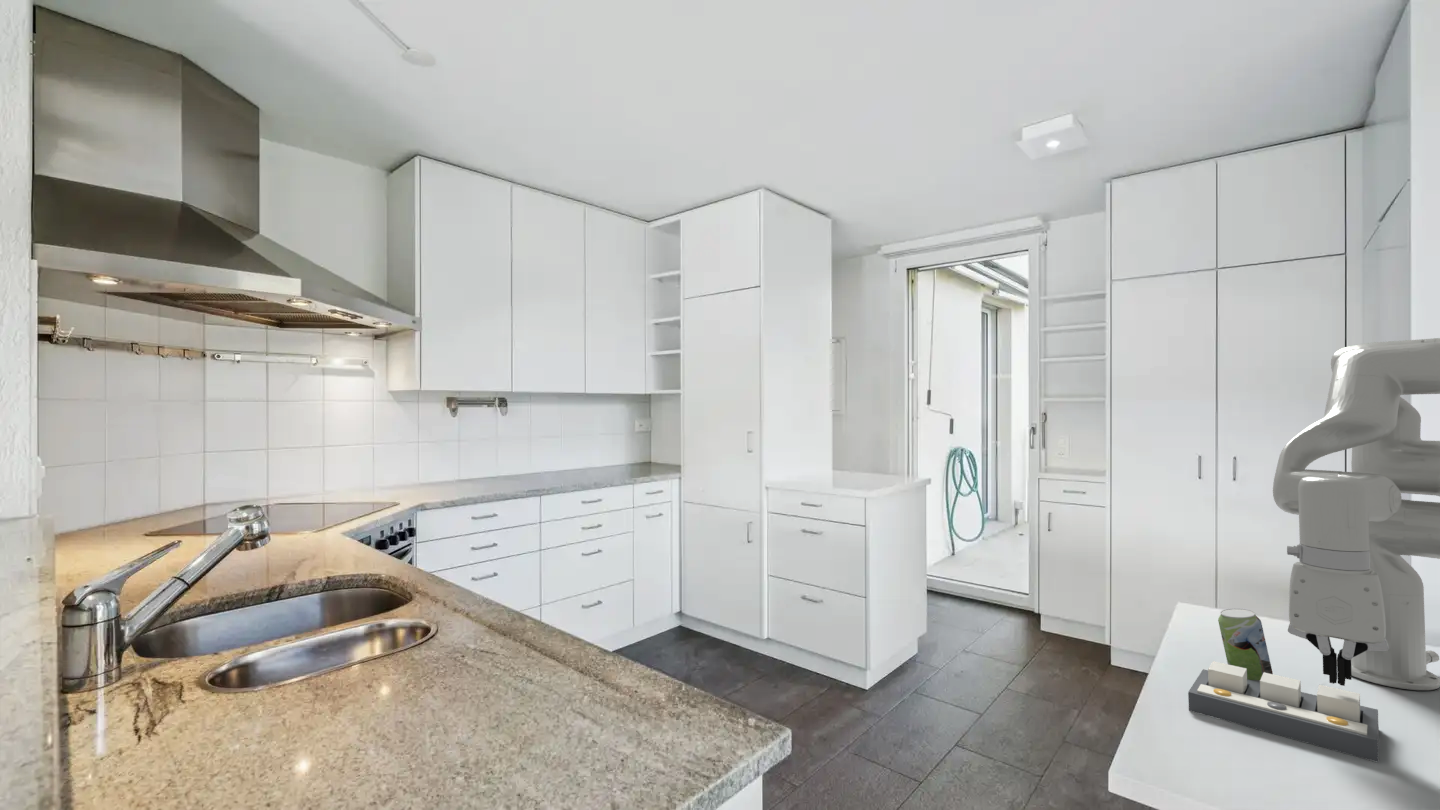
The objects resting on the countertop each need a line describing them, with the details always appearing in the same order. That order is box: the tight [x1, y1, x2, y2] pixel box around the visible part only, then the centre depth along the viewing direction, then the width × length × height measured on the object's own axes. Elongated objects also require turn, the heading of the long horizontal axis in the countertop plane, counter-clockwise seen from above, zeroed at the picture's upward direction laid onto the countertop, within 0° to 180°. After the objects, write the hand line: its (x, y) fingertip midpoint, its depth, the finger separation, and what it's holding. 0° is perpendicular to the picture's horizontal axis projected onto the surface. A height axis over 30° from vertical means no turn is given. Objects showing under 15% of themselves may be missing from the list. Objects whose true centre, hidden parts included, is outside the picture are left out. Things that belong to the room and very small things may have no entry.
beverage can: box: [1217, 608, 1274, 682], centre depth 111 cm, size 6×7×12 cm
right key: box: [1316, 684, 1361, 722], centre depth 93 cm, size 4×4×3 cm
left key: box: [1207, 660, 1247, 694], centre depth 103 cm, size 4×4×3 cm
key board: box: [1187, 668, 1380, 763], centre depth 97 cm, size 12×21×4 cm, turn 43°
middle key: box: [1260, 672, 1302, 707], centre depth 98 cm, size 4×4×3 cm
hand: (1337, 681), depth 93 cm, fingers closed
